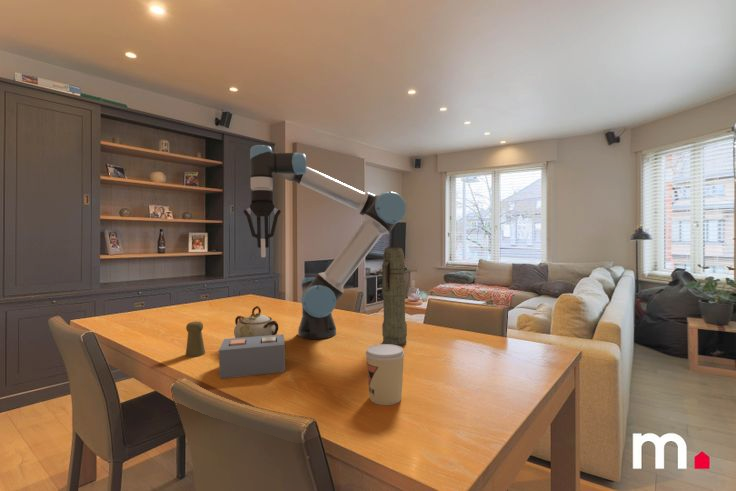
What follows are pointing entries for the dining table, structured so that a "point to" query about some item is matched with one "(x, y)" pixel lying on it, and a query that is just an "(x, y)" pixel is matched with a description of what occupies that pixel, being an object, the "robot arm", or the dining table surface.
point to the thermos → (394, 297)
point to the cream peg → (268, 339)
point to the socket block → (252, 357)
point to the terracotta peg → (237, 342)
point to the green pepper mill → (194, 339)
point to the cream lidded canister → (385, 373)
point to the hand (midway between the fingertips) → (263, 256)
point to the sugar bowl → (255, 325)
